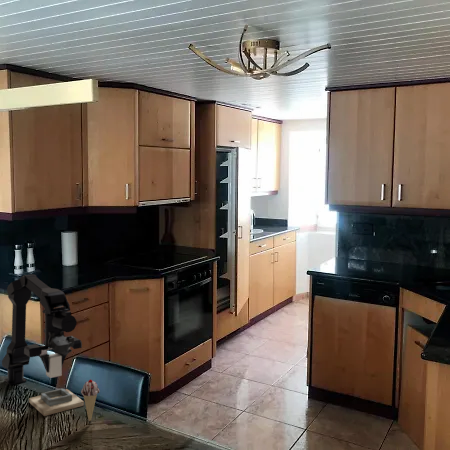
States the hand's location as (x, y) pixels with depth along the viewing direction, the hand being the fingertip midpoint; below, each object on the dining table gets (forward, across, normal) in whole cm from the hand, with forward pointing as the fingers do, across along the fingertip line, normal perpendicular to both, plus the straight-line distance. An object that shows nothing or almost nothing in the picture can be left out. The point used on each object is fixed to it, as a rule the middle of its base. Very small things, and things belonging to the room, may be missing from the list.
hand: (53, 371), depth 177 cm
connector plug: (+2, 0, 0) cm, 2 cm away
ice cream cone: (+12, +3, -23) cm, 26 cm away
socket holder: (+12, 0, -1) cm, 12 cm away
